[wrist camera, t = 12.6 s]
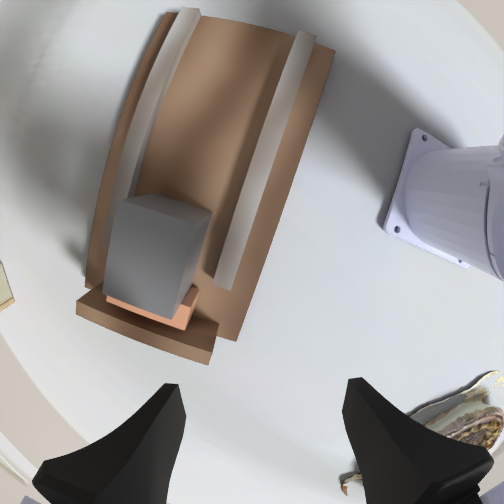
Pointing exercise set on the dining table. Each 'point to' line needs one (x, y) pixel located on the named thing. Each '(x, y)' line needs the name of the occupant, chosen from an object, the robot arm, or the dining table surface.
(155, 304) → the block
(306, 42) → the rail board
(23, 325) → the dining table surface
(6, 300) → the skincare box
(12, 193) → the dining table surface
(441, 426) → the pie
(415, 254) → the dining table surface
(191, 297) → the rail latch
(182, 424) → the robot arm
